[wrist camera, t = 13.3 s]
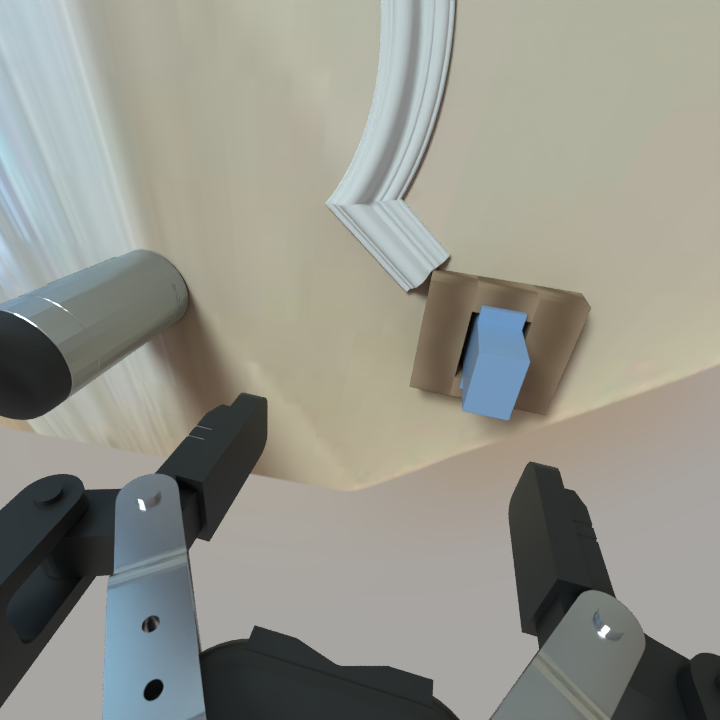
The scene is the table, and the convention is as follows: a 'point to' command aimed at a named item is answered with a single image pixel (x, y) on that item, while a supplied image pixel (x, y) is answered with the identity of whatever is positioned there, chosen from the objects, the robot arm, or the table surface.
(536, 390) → the tan square ring
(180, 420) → the table surface
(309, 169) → the table surface
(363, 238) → the molding
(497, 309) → the blue block
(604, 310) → the table surface
